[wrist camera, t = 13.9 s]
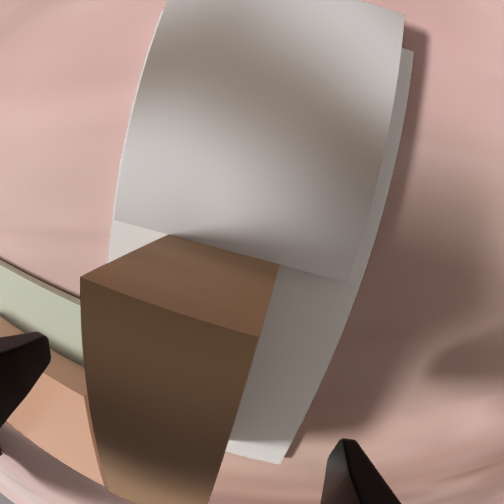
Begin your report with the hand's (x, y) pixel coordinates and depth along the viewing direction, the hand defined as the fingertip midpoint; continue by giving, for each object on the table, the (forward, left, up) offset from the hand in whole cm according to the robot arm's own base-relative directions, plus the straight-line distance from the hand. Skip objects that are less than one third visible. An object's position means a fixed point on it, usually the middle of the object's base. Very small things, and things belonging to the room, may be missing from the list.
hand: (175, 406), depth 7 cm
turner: (+4, 0, -3) cm, 5 cm away
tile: (-7, +12, -2) cm, 14 cm away
